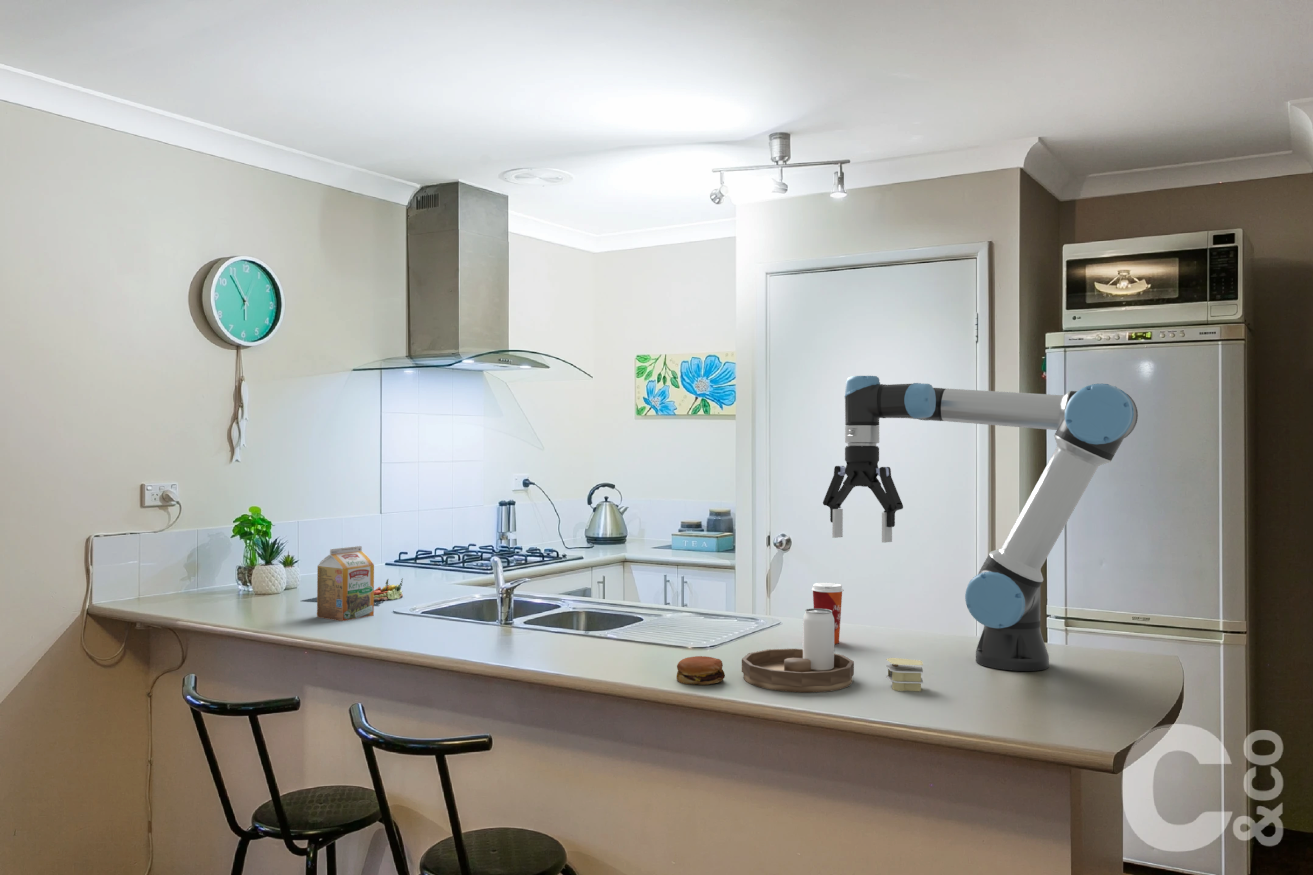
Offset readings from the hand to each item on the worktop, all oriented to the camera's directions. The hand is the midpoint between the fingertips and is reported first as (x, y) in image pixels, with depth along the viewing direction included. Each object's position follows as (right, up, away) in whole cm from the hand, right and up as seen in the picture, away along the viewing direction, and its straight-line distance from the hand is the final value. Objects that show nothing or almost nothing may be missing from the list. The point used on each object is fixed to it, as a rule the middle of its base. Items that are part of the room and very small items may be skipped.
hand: (861, 539), depth 216 cm
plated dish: (-136, -28, +81) cm, 161 cm away
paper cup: (-4, -27, +19) cm, 33 cm away
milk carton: (-132, -27, +50) cm, 144 cm away
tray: (-17, -26, -19) cm, 37 cm away
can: (-12, -26, -15) cm, 32 cm away
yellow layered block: (+3, -27, -26) cm, 37 cm away
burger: (-37, -27, -21) cm, 50 cm away
